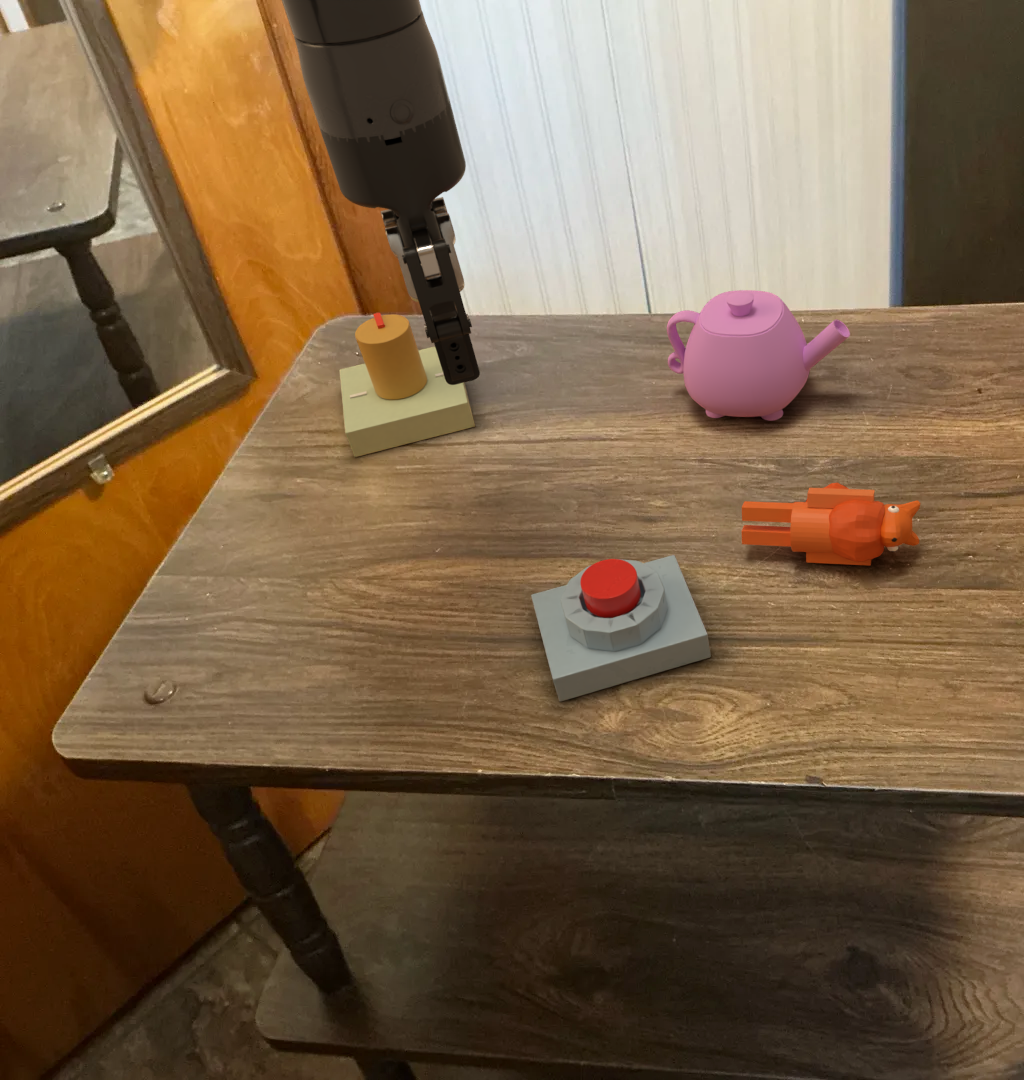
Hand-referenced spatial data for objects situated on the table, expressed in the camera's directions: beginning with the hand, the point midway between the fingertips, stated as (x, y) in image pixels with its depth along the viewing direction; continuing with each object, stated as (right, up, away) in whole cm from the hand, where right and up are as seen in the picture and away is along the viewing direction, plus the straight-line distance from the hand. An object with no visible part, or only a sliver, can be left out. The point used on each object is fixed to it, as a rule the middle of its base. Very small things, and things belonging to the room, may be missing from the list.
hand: (453, 346), depth 76 cm
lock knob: (-9, 0, +20) cm, 22 cm away
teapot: (+21, -1, +18) cm, 28 cm away
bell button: (+11, -17, -3) cm, 20 cm away
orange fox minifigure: (+26, -13, +4) cm, 29 cm away
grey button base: (+11, -19, -1) cm, 22 cm away
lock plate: (-9, -2, +22) cm, 23 cm away
